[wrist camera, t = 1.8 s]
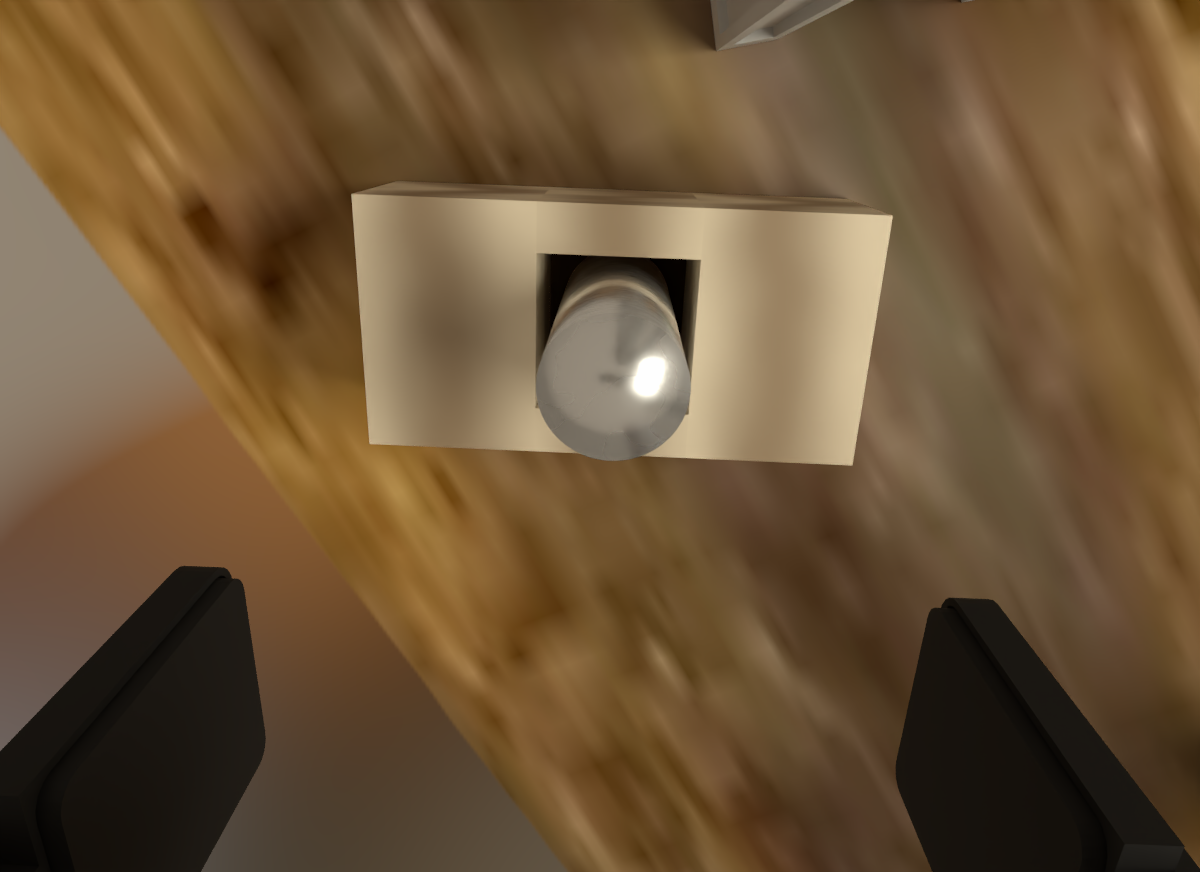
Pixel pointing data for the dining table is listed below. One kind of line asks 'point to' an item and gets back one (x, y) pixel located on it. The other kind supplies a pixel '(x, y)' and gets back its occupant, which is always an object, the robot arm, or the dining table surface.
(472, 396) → the beige block with hole
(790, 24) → the stool
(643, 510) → the dining table surface
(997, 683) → the robot arm
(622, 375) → the steel axle
